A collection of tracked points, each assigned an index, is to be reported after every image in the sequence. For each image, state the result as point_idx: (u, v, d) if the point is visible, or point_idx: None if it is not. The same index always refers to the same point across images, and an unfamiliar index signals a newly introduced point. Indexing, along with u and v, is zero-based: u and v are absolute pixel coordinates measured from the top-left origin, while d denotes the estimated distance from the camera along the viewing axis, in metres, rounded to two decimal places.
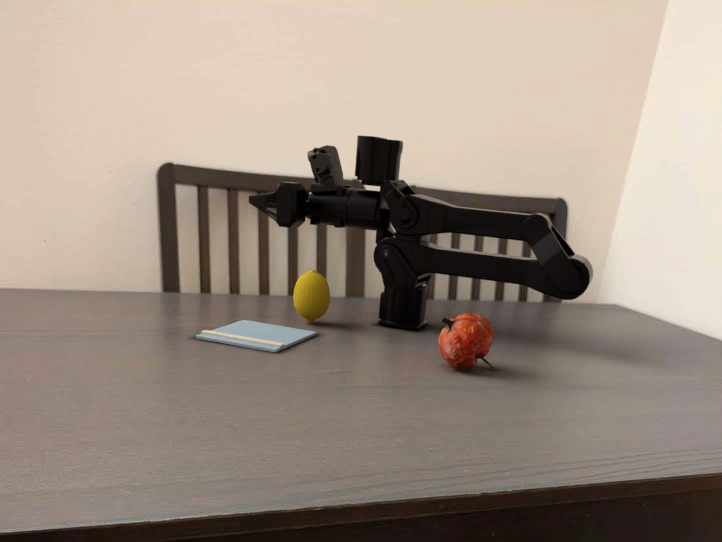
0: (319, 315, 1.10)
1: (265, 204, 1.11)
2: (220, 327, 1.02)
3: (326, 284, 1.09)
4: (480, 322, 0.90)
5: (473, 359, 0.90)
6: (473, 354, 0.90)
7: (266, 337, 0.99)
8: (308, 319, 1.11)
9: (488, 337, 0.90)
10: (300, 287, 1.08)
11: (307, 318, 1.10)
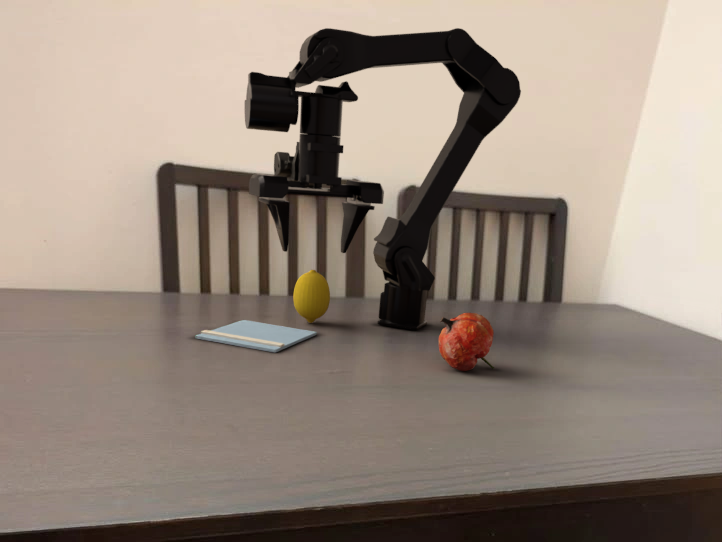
0: (319, 315, 1.10)
1: (278, 226, 1.03)
2: (220, 327, 1.02)
3: (326, 284, 1.09)
4: (480, 322, 0.90)
5: (473, 359, 0.90)
6: (473, 354, 0.90)
7: (266, 337, 0.99)
8: (308, 319, 1.11)
9: (488, 337, 0.90)
10: (300, 287, 1.08)
11: (307, 318, 1.10)
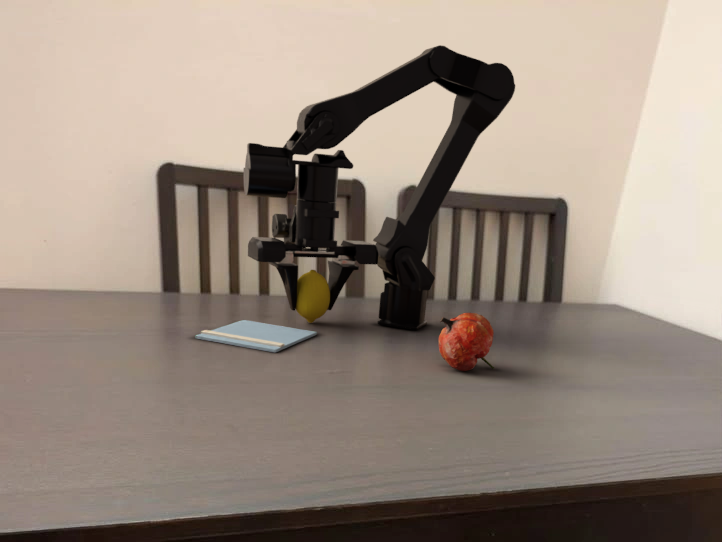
0: (319, 315, 1.10)
1: (287, 287, 1.08)
2: (220, 327, 1.02)
3: (326, 284, 1.09)
4: (480, 322, 0.90)
5: (473, 359, 0.90)
6: (473, 354, 0.90)
7: (266, 337, 0.99)
8: (308, 319, 1.11)
9: (488, 337, 0.90)
10: (300, 287, 1.08)
11: (307, 318, 1.10)
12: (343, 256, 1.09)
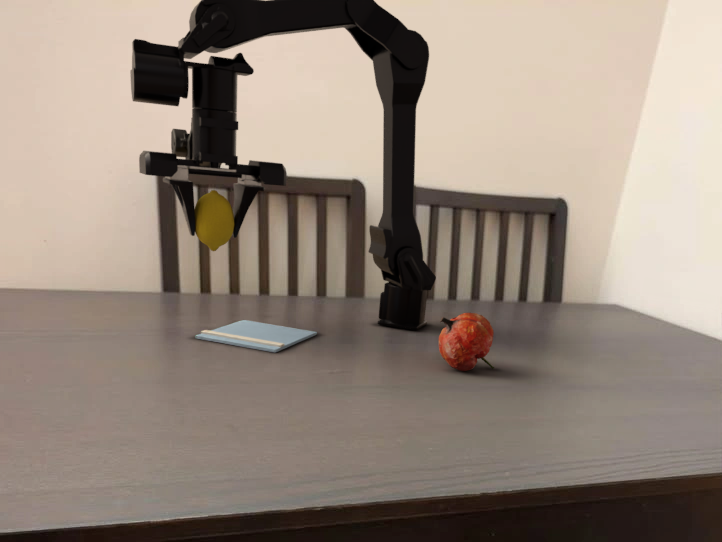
0: (221, 241, 1.00)
1: (184, 208, 0.97)
2: (220, 327, 1.02)
3: (228, 206, 0.98)
4: (480, 322, 0.90)
5: (473, 359, 0.90)
6: (473, 354, 0.90)
7: (266, 337, 0.99)
8: (210, 246, 1.01)
9: (488, 337, 0.90)
10: (199, 208, 0.98)
11: (209, 245, 1.00)
12: (247, 176, 0.99)
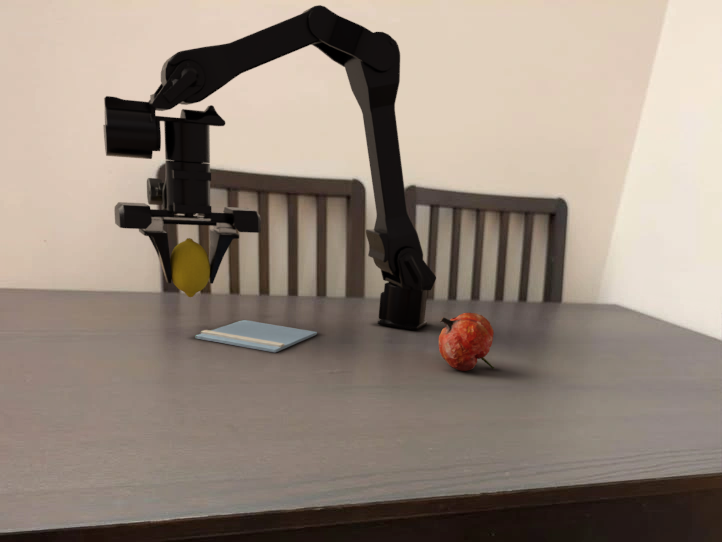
0: (198, 288, 1.01)
1: (160, 257, 0.99)
2: (220, 327, 1.02)
3: (203, 254, 1.00)
4: (480, 322, 0.90)
5: (473, 359, 0.90)
6: (473, 354, 0.90)
7: (266, 337, 0.99)
8: (187, 293, 1.02)
9: (488, 337, 0.90)
10: (174, 257, 0.99)
11: (185, 291, 1.01)
12: (222, 224, 1.00)
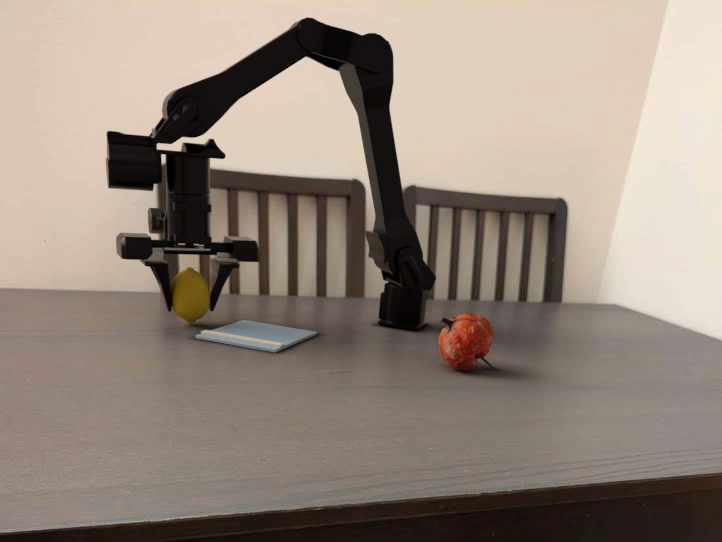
0: (198, 316, 1.02)
1: (160, 286, 1.00)
2: (220, 327, 1.02)
3: (204, 283, 1.01)
4: (480, 322, 0.90)
5: (473, 359, 0.90)
6: (473, 354, 0.90)
7: (266, 337, 0.99)
8: (187, 320, 1.03)
9: (488, 337, 0.90)
10: (175, 286, 1.00)
11: (186, 319, 1.03)
12: (222, 253, 1.01)
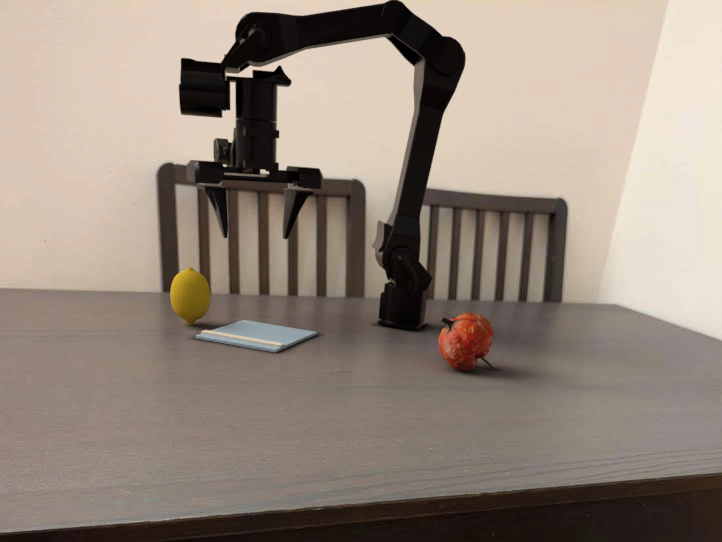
0: (198, 316, 1.02)
1: (217, 212, 1.03)
2: (220, 327, 1.02)
3: (204, 283, 1.01)
4: (480, 322, 0.90)
5: (473, 359, 0.90)
6: (473, 354, 0.90)
7: (266, 337, 0.99)
8: (187, 320, 1.03)
9: (488, 337, 0.90)
10: (175, 286, 1.00)
11: (186, 319, 1.03)
12: (298, 181, 1.06)
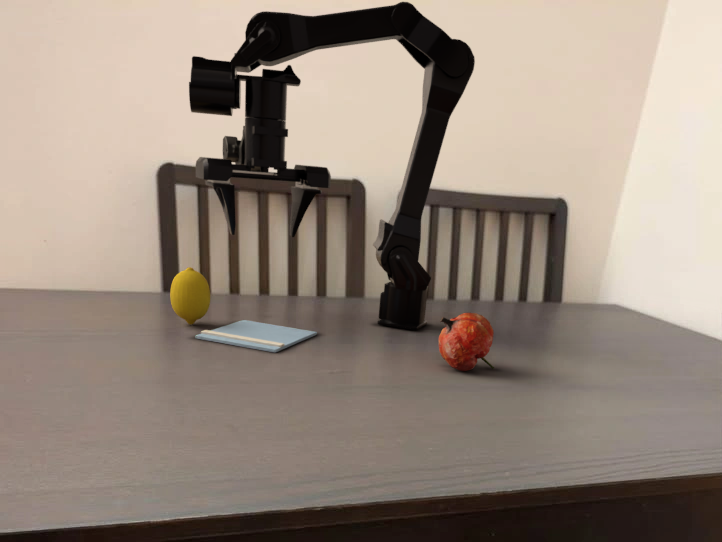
0: (198, 316, 1.02)
1: (225, 209, 1.04)
2: (220, 327, 1.02)
3: (204, 283, 1.01)
4: (480, 322, 0.90)
5: (473, 359, 0.90)
6: (473, 354, 0.90)
7: (266, 337, 0.99)
8: (187, 320, 1.03)
9: (488, 337, 0.90)
10: (175, 286, 1.00)
11: (186, 319, 1.03)
12: (305, 180, 1.07)
